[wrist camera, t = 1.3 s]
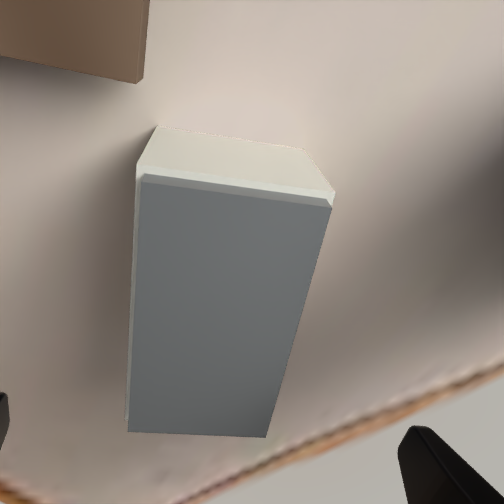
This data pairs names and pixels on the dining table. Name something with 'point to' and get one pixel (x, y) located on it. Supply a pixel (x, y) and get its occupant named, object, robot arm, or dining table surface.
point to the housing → (218, 279)
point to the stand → (78, 35)
